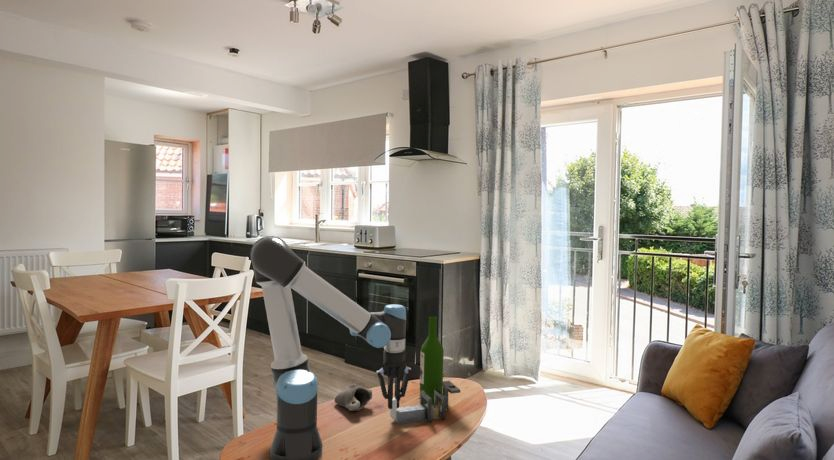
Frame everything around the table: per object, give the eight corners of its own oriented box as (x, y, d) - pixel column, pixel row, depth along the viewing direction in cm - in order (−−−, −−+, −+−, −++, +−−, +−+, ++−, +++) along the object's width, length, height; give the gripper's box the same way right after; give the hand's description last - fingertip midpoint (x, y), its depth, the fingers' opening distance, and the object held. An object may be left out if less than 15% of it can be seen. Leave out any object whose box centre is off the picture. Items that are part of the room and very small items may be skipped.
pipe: (341, 430, 178) (367, 418, 171) (323, 415, 176) (349, 403, 168) (356, 395, 192) (381, 382, 184) (340, 381, 190) (365, 367, 182)
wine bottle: (416, 396, 192) (418, 315, 191) (437, 394, 194) (439, 314, 193) (423, 405, 183) (425, 319, 182) (445, 402, 186) (447, 318, 185)
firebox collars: (428, 422, 168) (428, 394, 167) (417, 410, 178) (418, 383, 177) (460, 418, 172) (461, 390, 172) (448, 407, 182) (449, 380, 182)
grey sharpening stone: (397, 424, 166) (397, 412, 166) (393, 419, 170) (393, 407, 170) (445, 417, 172) (445, 406, 172) (440, 413, 176) (440, 402, 176)
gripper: (379, 354, 161) (378, 424, 162) (415, 351, 166) (414, 419, 167) (373, 348, 168) (372, 415, 169) (408, 345, 173) (407, 410, 174)
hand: (393, 417), depth 168 cm, fingers closed
